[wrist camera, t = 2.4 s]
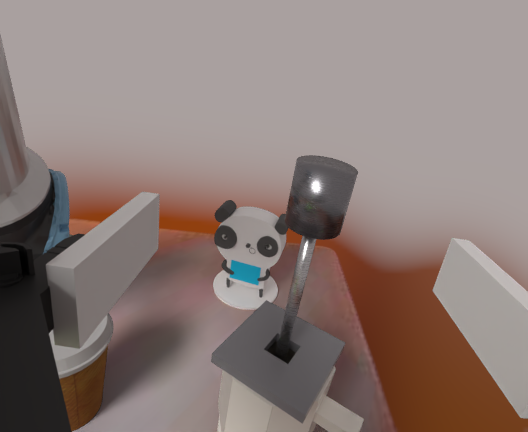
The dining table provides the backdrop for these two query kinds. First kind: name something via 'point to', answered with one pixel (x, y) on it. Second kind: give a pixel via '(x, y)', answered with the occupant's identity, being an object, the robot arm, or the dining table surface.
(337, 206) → the plunger
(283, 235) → the panda figurine
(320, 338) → the press pot
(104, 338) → the disposable coffee cup
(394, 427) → the dining table surface
